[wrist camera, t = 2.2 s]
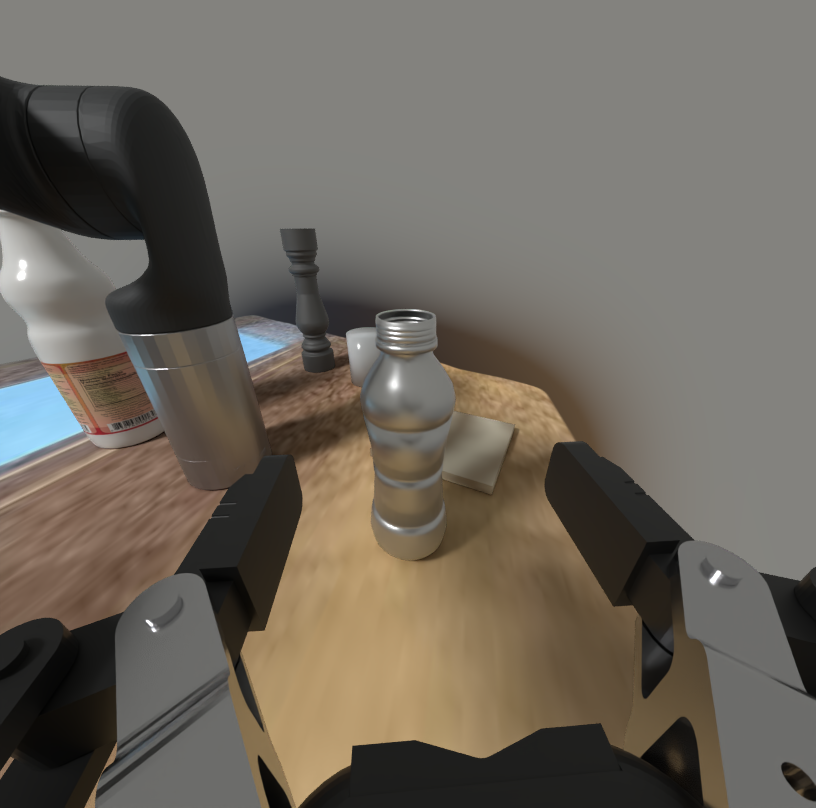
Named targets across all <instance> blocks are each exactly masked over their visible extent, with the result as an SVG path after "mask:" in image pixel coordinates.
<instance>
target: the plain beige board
mask: <svg viewBox="0 0 816 808" xmlns="http://www.w3.org/2000/svg"><path fill="white" fill-rule="evenodd" d="M514 427H515V425H514V424H510V423H505V422H501V421H497V420H492V419H488V418H483V417H479V416H474V415H470V414H465V413H461V412H457V411H454V412H453V416H452V421H451V425H450V429H449V433H448V437H447V441H446V446H445V454H444V461H443V470H442V479H443V480H447V481H450V482H453V483H456V484H459V485H462V486H465V487H468V488H472V489H475V490H478V491H481V492H484V493H487V494H490V495H492V492H493V489H494V487H495V484H496V481H497V478H498V475H499V472H500V469H501V467H502V464H503V461H504V458H505V455H506V452H507V450H508V447H509V444H510V441H511V438H512V435H513V432H514ZM370 453H371V456H372V450H371V448H370Z"/></svg>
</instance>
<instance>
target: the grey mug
mask: <svg viewBox="0 0 816 808" xmlns="http://www.w3.org/2000/svg"><path fill="white" fill-rule="evenodd" d="M346 336H347V345H348V354H349V363H350V372H351V381H352V383H353V384H354V385H355V386H358V387H362V385H363V382H364V380H365V378H366V376H367V374H368V373H369V371H370V369H371V367H372V366H373V364H374V363H375V361H376V360H377V359H378V357H379V356H380V353H381V351H380V350H379V349H377V347H376V342H375V338H376V336H377V333H376V328H374V327H366V328H357V329H353V330H350V331H348V332H347V333H346Z"/></svg>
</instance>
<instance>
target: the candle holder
mask: <svg viewBox="0 0 816 808" xmlns="http://www.w3.org/2000/svg"><path fill="white" fill-rule="evenodd" d="M280 233H281V238H282V244H283V249H284V251H286V255H287V257H288V258H289V259H290V261H291V262H292V266H290V267H289V272H290V273H292V274H293V276H294V279H295V285H296V290H297V306H296V325H297V327H298V329H299V330H300V331H301V332H302V333H303V336H304V337H305V340H304V341H303V344H302V348H303V352H302V358H303V364H304V369H305V370H306V371H308V372H314V373H317V372H325V371H328V370H331V369H332V368H334V367H335V361H334V354H333V349H332V348H330V346H331V343H330V341H329V340H328V339H327V338H326V337H325V335H326V332H325V331H326V330H327V328H328V325H329V319H328V316H327V313H326V311H325V308H324V305H323V303H322V300H321V298H320V295H319V292H318V285H317V279H316V275H317V272H318V271H319V267H318V266H317V265H315V264H314V261H315V257H316V255H317V253H316V250H317V249H318V248H317V240H316V233H315V229H280Z"/></svg>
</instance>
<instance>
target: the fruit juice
mask: <svg viewBox="0 0 816 808" xmlns="http://www.w3.org/2000/svg"><path fill="white" fill-rule="evenodd" d="M0 240H1V245H2V254H3V264H2V267H1V270H0V293H1V294H2V297H3V298H4V300H5V301H6V303H7V304H8V305H9V306H10V307H11V308H12V309H13V310H14V311H15V312H16V313H17V314H19V315H20V316H21V317H22V318H23V320H24V321H25V323H26V325H27V329H28V332H27V335H28V339H29V341H30V344H31V346H32V348H33V350H34V352H35V353H36V355H37V357H38V359H39V360H40V362H41V363H42V364H43V366H44V368H45V369H46V371H47V372H48V374H49V376H50V377H51V379H52V380H53V382H54V384H55V385H56V387H57V388H58V390H59V392H60V393H61V395H62V396H63V398H64V400H65V401H66V403H67V405H68V406H69V408H70V409H71V411H72V413H73V414H74V416H75V417H76V419H77V421H78V422H79V424H80V425H81V427H82V429H83V430H84V432H85V433H86V435H87V437H88V438H89V439H90V441H91V442H92V443H93V444H95V445H96V446H98V447H100V448H108V449H112V448H122V447H127V446H131V445H135V444H138V443H141V442H144V441H147V440H149V439H151V438H154V437H156V436H157V435H159V434H161V433H162V432H164V429H163V427H162V425H161V423H160V421H159V419H158V416H157V414H156V412H155V410H154V408H153V406H152V404H151V402H150V399H149V397H148V395H147V393H146V391H145V389H144V387H143V385H142V383H141V380H140V378H139V376H138V374H137V372H136V370H135V368H134V366H133V363H132V362H131V360H130V358H129V356H128V353H127V351H126V349H125V347H124V345H123V343H122V341H121V339H120V337H119V334H118V332H117V330H116V328H115V326H114V324H113V322H112V320H111V318H110V316H109V314H108V311H107V309H106V305H105V299H106V297H107V295H108V294H110V293H111V292H113V291H115V290H116V288H115V286H114V284H113V282H112V280H111V279H110V278H109V276H108V275H107V274H106V273H105V272H104V271H102V270H101V269H100V268H98V267H97V266H96V265H94V264H93V263H92V262H90V261H89V260H88V259H87V258H86V257H85V256H83V254H82V253H81V252H80V251H79V250H78V249H77V248H76V247H75V246H74V244H73V243H72V242H71V241H70V240H69V239H68V237H67V236H66V235H65V234H64V232H63V231H62V230H61V229H58V228H55V227H52V226H49V225H46V224H43V223H40V222H37V221H34V220H31V219H28V218H25V217H22V216H19V215H16V214H13V213H10V212H7V211H4V210H1V209H0Z"/></svg>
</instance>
